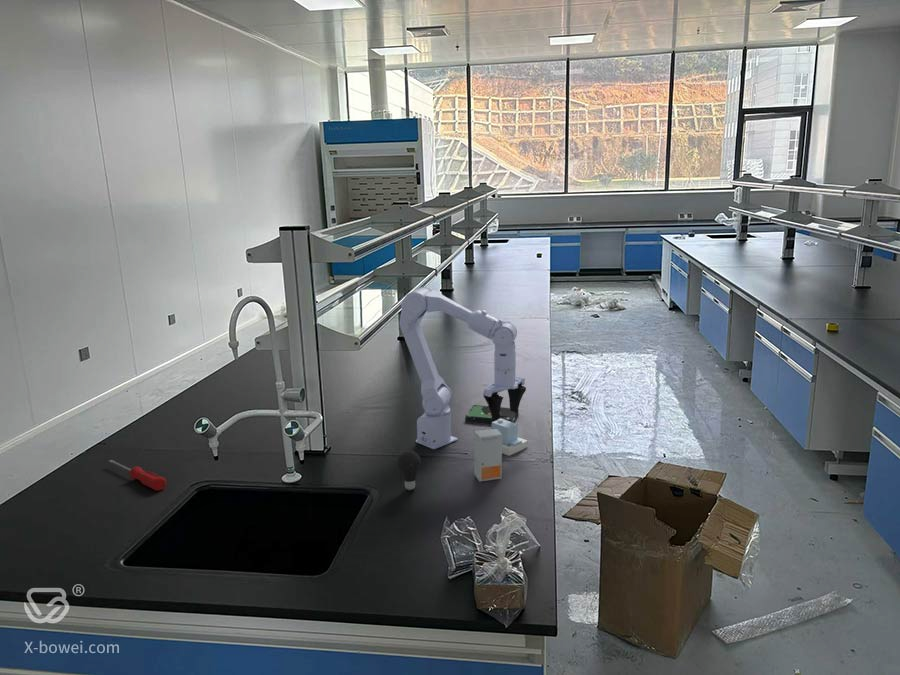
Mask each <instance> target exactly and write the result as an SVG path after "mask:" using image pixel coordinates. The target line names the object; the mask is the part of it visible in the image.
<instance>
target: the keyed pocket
mask: <svg viewBox="0 0 900 675" xmlns="http://www.w3.org/2000/svg"><path fill="white" fill-rule="evenodd" d="M518 439H519V440H522V443H520V444H518V445H516V446H513V445H511V446H506V445H503V444H502V455H505V456H509V457H510V456H512V455H514V454H516V453H518V452H520V451H522V450H525V449H527V448H528V440H527V439H524V438H521V437H519V436H518Z"/></svg>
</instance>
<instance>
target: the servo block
mask: <svg viewBox="0 0 900 675" xmlns="http://www.w3.org/2000/svg"><path fill="white" fill-rule="evenodd" d="M518 426H519V425H518V423H515V422H514V423H513V422H510V421H507V420H504V419H498V420H497V421H494V422H492V425H491V429H497V430H498V431H499V432H500V433H501V434H502V444H503V445H506V446H511V445H513V446H516V445H518V444H520V443H522V440H519V439H518V437H519V436H518V435H519V434H518V432H519V431H518V428H519V427H518Z"/></svg>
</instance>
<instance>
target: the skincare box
mask: <svg viewBox="0 0 900 675" xmlns="http://www.w3.org/2000/svg"><path fill="white" fill-rule="evenodd" d="M473 432H474V434H473V436H474V440H473V442H474V444H473V445H474V447H473V449H474V451H473V452H474V454H473V456H474V458H473V459H474V460H473V461H474V464H473V465H474V466H473V470H474V473H473V475H474V476H475V478H476V479H477V480H478V482H479V483H480V482H486V481H493V480H501V479H502V477H503V476H502V475H503V474H502V471H503V470H502V469H503V468H502V467H503V466H502V465H503V460H502V459H503V453H502V434H501V433H500V432H499V431H498V430H497V429H492V428H491V429H483V430H482V429H481V430H476V431H473Z"/></svg>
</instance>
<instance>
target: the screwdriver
mask: <svg viewBox="0 0 900 675" xmlns="http://www.w3.org/2000/svg"><path fill="white" fill-rule="evenodd" d="M109 462H110V463H112V464H114V465H117V466H118V467H120V468H123V469H124V470H127V471H129V477H130V478H131V479H133V480H139V481H140V483H141V484H142V485H144V486H147V487H148V488H150V489H152V490H154V491H156V492H160V491H163V490H164V489H165V488H166V486H167V480H166V478H165V477H162V476H160V475H158V474H156V473H154V472H151V471H144V470H143V468H142V467H140V466H134V467H132V468H129V467H127V466H125V465H123V464H120V463H119V462H116V461H115V460H113V459H111V460H109Z"/></svg>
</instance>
